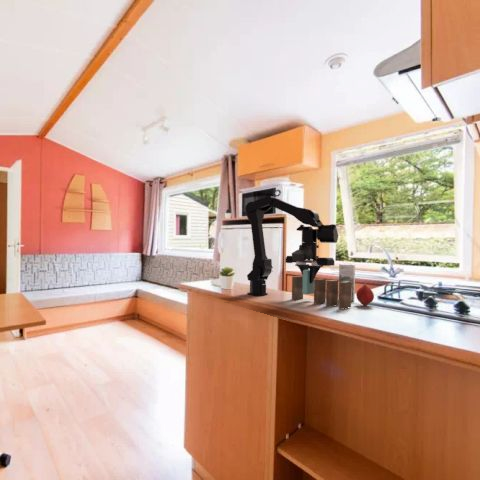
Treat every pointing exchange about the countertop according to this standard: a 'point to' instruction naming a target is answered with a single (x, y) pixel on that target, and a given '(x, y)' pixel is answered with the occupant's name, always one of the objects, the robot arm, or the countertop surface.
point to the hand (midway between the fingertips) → (308, 283)
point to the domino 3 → (319, 291)
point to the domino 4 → (331, 292)
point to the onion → (365, 295)
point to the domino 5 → (344, 294)
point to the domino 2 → (307, 283)
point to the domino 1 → (297, 287)
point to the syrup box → (348, 276)
